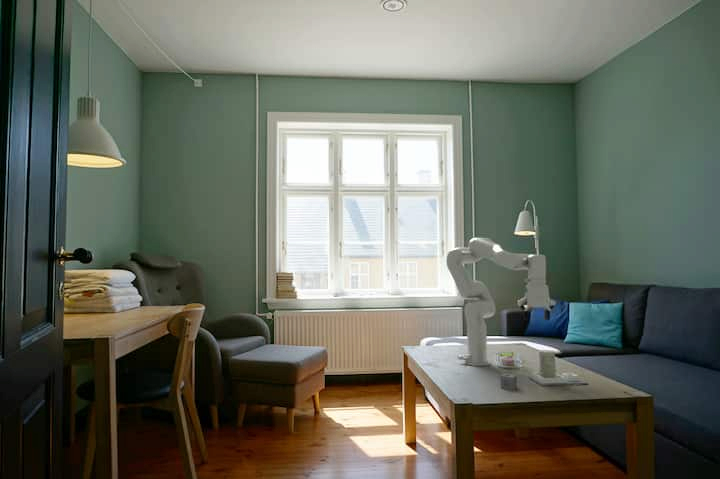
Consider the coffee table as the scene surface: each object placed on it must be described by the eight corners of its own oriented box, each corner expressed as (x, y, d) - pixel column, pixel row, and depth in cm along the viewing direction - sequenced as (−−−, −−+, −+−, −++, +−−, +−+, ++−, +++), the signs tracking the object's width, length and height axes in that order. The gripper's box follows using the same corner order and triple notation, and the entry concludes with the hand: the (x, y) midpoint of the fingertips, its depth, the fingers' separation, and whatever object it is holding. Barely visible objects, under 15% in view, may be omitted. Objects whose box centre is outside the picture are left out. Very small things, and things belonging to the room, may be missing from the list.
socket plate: (542, 386, 191) (541, 379, 191) (528, 378, 203) (528, 372, 203) (588, 384, 193) (588, 377, 193) (572, 377, 205) (572, 370, 205)
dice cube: (505, 385, 193) (504, 373, 193) (517, 387, 190) (516, 375, 190) (500, 388, 189) (500, 375, 189) (512, 390, 186) (512, 377, 186)
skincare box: (555, 379, 199) (554, 350, 199) (556, 381, 195) (555, 352, 195) (539, 378, 201) (538, 349, 201) (540, 380, 197) (539, 351, 197)
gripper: (521, 282, 206) (521, 321, 205) (559, 282, 207) (559, 321, 206) (514, 281, 213) (514, 318, 213) (551, 281, 214) (551, 318, 214)
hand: (536, 319), depth 210 cm, fingers open, 9 cm apart
